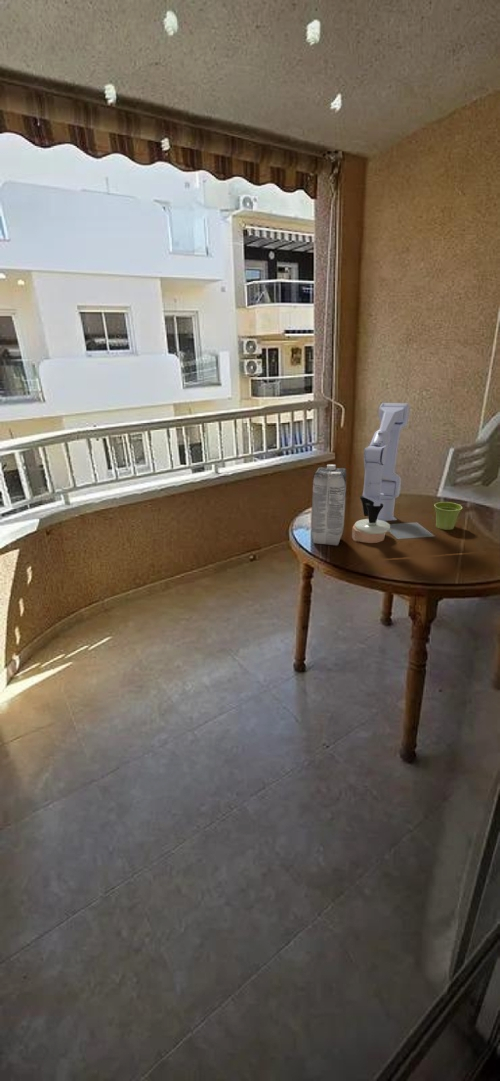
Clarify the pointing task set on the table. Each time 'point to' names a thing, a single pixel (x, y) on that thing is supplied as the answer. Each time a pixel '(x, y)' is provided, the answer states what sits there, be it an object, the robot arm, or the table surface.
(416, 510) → the table surface
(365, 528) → the lid
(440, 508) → the plant pot
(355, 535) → the bowl
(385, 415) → the robot arm
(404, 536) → the mat
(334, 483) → the juice carton
